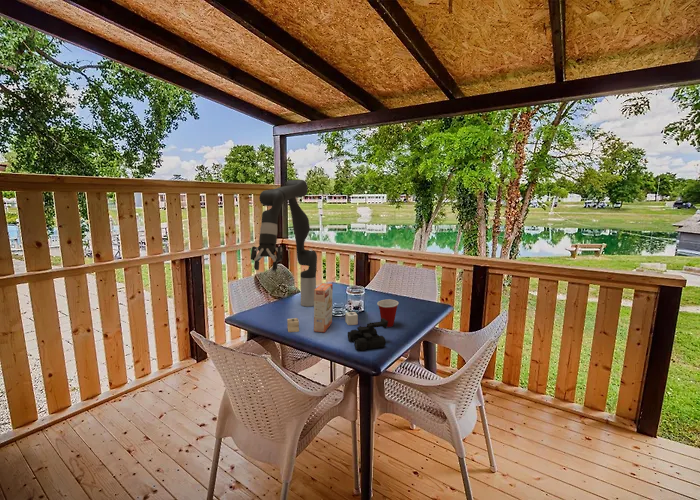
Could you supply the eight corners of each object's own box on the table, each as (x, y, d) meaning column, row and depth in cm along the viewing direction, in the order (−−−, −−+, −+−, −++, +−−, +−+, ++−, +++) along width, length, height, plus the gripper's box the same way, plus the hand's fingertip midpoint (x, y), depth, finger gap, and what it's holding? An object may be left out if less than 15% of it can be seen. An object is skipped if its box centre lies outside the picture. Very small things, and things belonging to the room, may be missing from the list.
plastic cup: (372, 322, 168) (373, 300, 166) (391, 320, 172) (391, 298, 170) (383, 330, 158) (383, 306, 156) (402, 327, 162) (402, 304, 160)
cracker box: (325, 333, 154) (325, 290, 151) (313, 331, 155) (313, 289, 152) (333, 322, 167) (333, 283, 164) (321, 321, 168) (321, 282, 165)
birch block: (287, 328, 159) (287, 318, 158) (297, 327, 160) (297, 317, 159) (288, 332, 154) (288, 322, 153) (298, 331, 155) (298, 321, 155)
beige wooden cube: (345, 321, 169) (345, 312, 168) (354, 321, 170) (354, 311, 169) (348, 325, 164) (348, 315, 163) (357, 324, 165) (357, 314, 165)
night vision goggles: (347, 339, 148) (347, 318, 146) (379, 335, 152) (379, 314, 151) (357, 352, 134) (357, 329, 133) (392, 347, 139) (393, 325, 138)
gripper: (286, 235, 146) (283, 271, 144) (258, 235, 150) (255, 270, 148) (279, 232, 139) (276, 270, 137) (249, 232, 142) (246, 269, 140)
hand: (265, 270), depth 142 cm, fingers open, 8 cm apart
